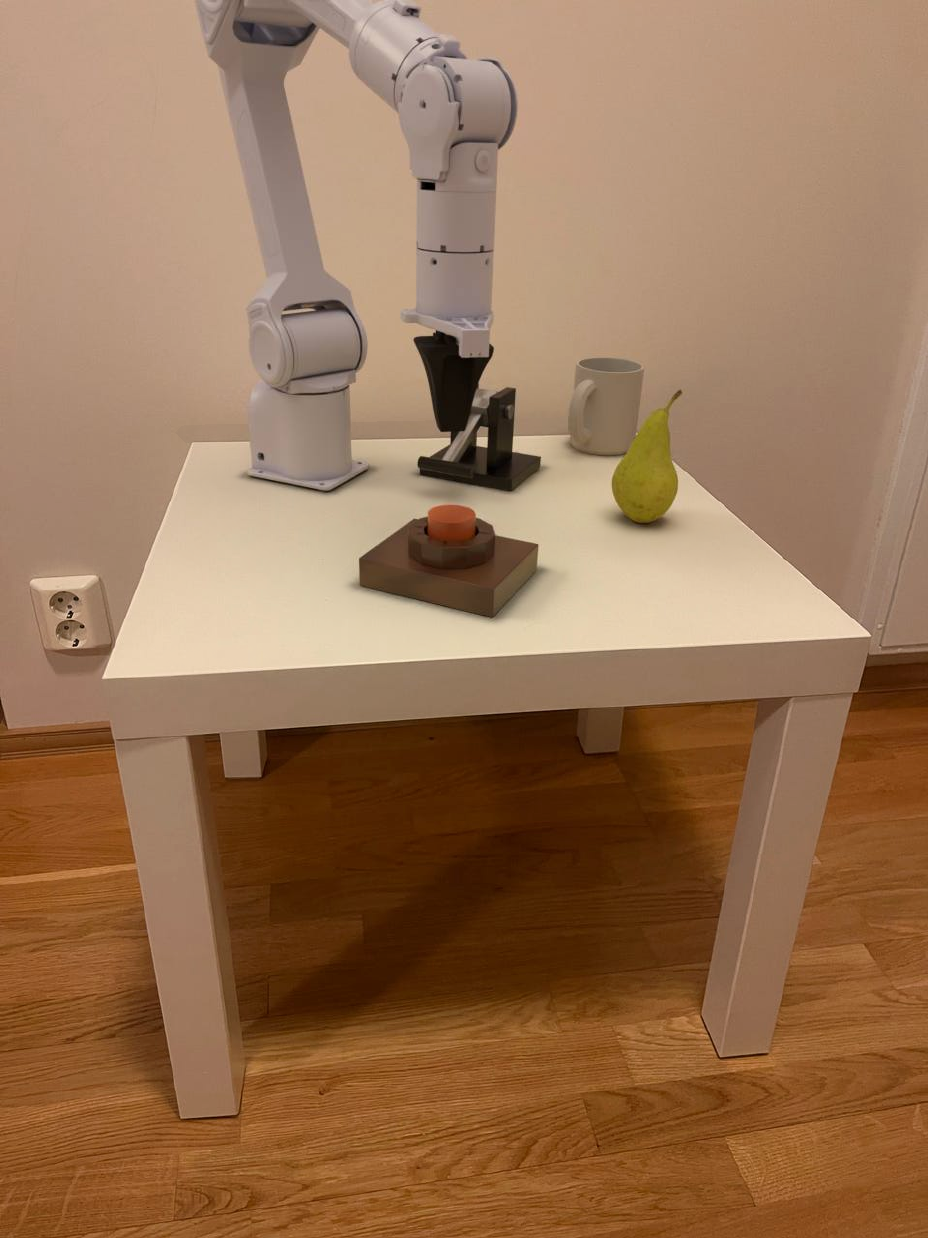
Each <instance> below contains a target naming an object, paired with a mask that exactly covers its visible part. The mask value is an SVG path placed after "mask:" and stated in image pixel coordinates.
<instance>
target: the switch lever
mask: <svg viewBox="0 0 928 1238" xmlns="http://www.w3.org/2000/svg"><path fill="white" fill-rule="evenodd" d="M497 392H498V390H492V389H486V388H485V389H484V388H480V387H479V388H477V389H476V392H475V396H474V400H473V404H472V408H471V412H470V416H469V420H468V423H467V426H466V429H465V431H460V432H459V433H458V435H457V437H456V438H455V440H454V441H453V443H452V444H451V446H450V448H449V449H448V451H447V452H446V454H445V455H444V457H443V459H436V458H430V456H424V455H420V456H419V457H418V459H417V463H416V464H417V468H418V469H419V470H420V469H424V470H430V471H435V472H440V473H446V474H451V475H457V476H462V477H468V478H473V477H474V475H475V466H474V465H470V464H464V463H458V462H459V460H460V458H461V457H462V455H463V454H464V452H465V450H466V449H467V447H468V446H469V444H470V442H471V441H472V439H473V437H474V436H475V434H476V433H477V434H478V431H479V429H480V428H481V427H483V428H488V419H489V397H490V396H492V395H494V394H496V393H497Z"/></svg>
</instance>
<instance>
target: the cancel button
mask: <svg viewBox="0 0 928 1238" xmlns="http://www.w3.org/2000/svg"><path fill="white" fill-rule="evenodd" d="M427 517H428V536H429V537H431V538H432V539H437V540H442V541H465V540H469V539H473V538H474V537H475V524H476V518H477V513H476V511H475V510H474V509H473V508H471V507H469V506H465V505H460V504H441V505H437V506H436V505H435V506H434V507H432V508H429V510H428V511H427Z"/></svg>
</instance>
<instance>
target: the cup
mask: <svg viewBox="0 0 928 1238" xmlns="http://www.w3.org/2000/svg"><path fill="white" fill-rule="evenodd" d="M574 373H575V374H574V384H573V386H574V387H573V393H572V396H571V399H570V402H569V406H568V407H569V408H568V415H567V423H568V424H567V426H568V427H567V428H568V432H569V443H570V445H571V446H572V447H573V449H575V450H577V451H579V452H582V453H585V454H590V455H596V456H619V455H620V456H621V455H626V453H627V451H628V449H629V448H630V446H631V444H632V442H633V440H634V439H635V437H636V435H637V432H638V431H637V430H638V423H639V414H640V407H641V406H640V405H641V398H642V390H643V389H642V388H643V382H644V373H645V366H644V364H643V363H641V362H637V361H636V360H630V359H626V358H618V357H604V356H601V357H599V356H598V357H587V358H581V359H579V360H577V361H576V362H575V372H574Z"/></svg>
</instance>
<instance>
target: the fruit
mask: <svg viewBox="0 0 928 1238" xmlns="http://www.w3.org/2000/svg"><path fill="white" fill-rule="evenodd" d="M682 394H683V391H682V389H678V390H677V391H676V392H675V393H674V394H673V395H672V397H671V398H670V401H669V402H668V403H667V405H666V406H665V407H664V408H658V409H656V410H654V411H652V412H651V413H650V415H649V416H648V417H646V419H645V420H644V422H643V424H642V425H641V426H640V428H639V430H638V431H637V432H636V437H635V439H634V440H633V442H632V444H631V446H630V448H629V449H628V451H627V453H625V454H624V455H623V457H622V458H621V460H620V461H619V463H618V464H617V465H616V467H615V469H614V472H613V474H612V477H611V491H612V495H613V499H614V500H615V503H616V504H617V506H618V507H619V509H620V510H621V511H622V513H623V514H624V515H625V516H626V517H627V518H629V519H630V520H631V521H633V522H634V523H638V524H648V523H652V522H654V521H656V520H659V519H660V518H662V516H663V515H665V514H666V513H667V512H668V511H669V509H670V508H671V506H672V505H673V503H674V501H675V499H676V496H677V494H678V489H679V477H678V473H677V470H676V467H675V465H674V463H673V459H672V455H671V433H670V427H669V417H670V413H669V411H670V408H671V407H672V405H673V404H674V402H675V401H676V400H677V399H679V397H680V396H681V395H682Z"/></svg>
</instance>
